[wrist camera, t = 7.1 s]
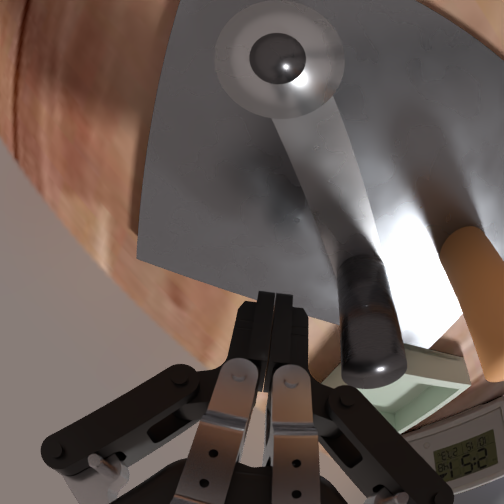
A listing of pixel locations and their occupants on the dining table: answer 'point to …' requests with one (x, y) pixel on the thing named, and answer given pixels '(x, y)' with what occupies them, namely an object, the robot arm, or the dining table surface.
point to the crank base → (365, 149)
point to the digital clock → (464, 446)
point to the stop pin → (478, 293)
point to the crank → (319, 167)
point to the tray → (415, 387)
